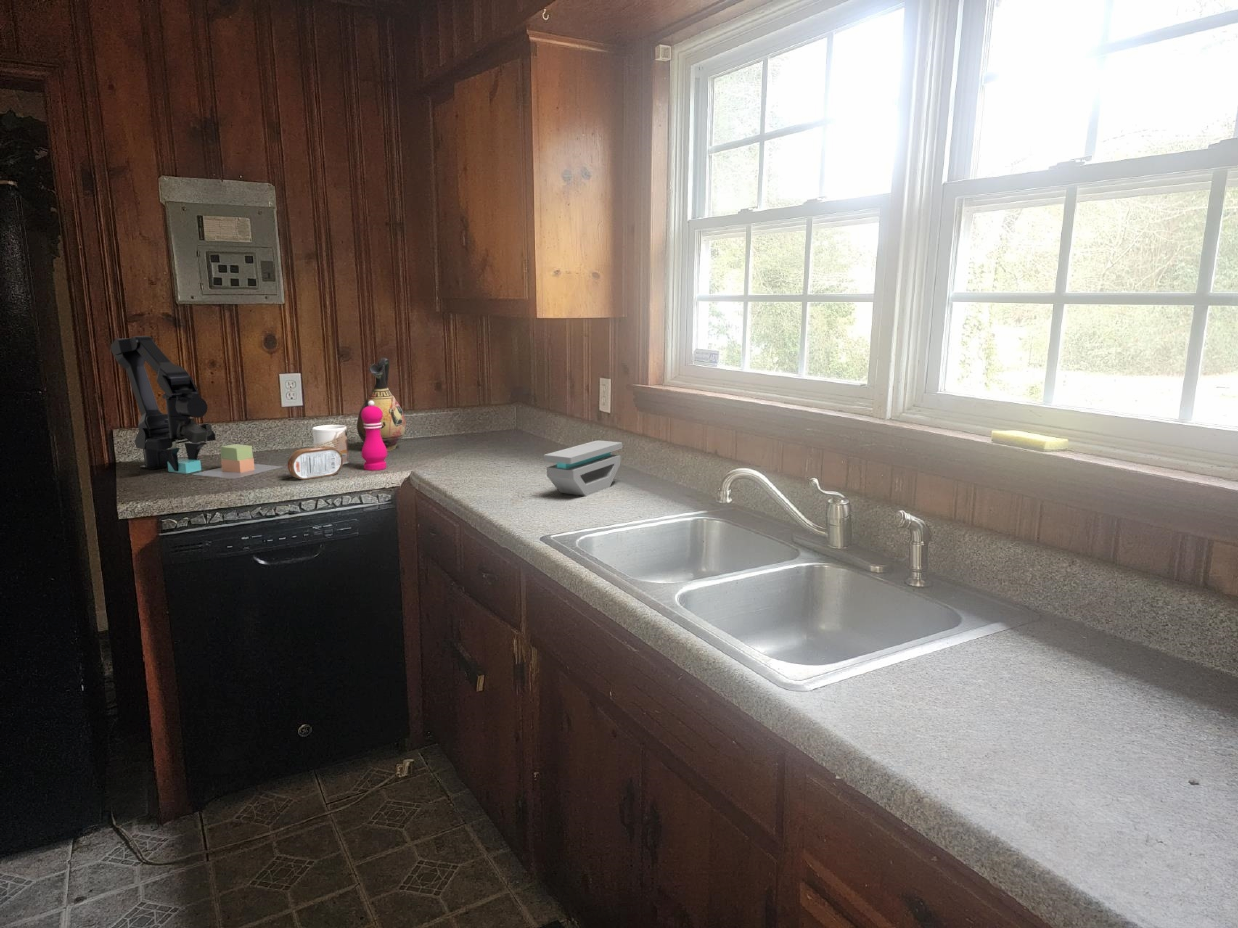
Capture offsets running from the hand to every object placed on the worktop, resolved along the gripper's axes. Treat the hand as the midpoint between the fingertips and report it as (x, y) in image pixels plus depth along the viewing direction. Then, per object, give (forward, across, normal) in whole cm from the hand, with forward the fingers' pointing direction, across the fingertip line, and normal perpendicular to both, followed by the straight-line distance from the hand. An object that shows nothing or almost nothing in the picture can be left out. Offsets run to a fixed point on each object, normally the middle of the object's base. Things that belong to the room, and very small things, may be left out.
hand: (184, 469), depth 231 cm
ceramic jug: (+1, +53, -28) cm, 60 cm away
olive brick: (-3, +6, -14) cm, 16 cm away
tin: (+1, +9, -40) cm, 41 cm away
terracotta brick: (0, +6, -14) cm, 15 cm away
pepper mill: (+1, +25, -47) cm, 53 cm away
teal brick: (+1, 0, 0) cm, 1 cm away
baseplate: (+1, +6, -14) cm, 15 cm away
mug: (+1, +28, -29) cm, 40 cm away
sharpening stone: (+1, +22, -116) cm, 118 cm away
